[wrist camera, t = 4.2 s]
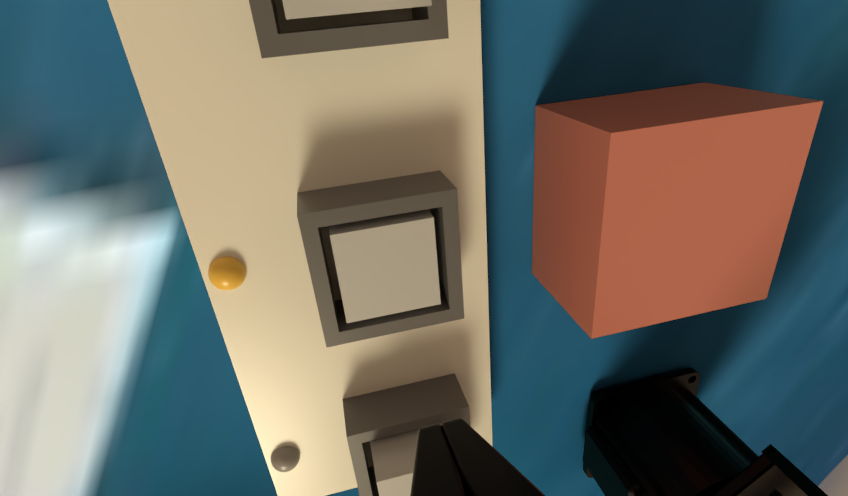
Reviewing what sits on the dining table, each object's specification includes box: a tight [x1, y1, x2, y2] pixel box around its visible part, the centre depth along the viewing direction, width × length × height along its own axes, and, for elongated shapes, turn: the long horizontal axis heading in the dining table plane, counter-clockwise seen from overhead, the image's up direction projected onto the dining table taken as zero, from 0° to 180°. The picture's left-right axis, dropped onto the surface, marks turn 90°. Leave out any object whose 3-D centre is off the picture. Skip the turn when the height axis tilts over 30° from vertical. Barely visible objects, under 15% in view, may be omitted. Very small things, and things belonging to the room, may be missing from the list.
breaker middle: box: [328, 209, 441, 323], centre depth 16 cm, size 3×3×2 cm
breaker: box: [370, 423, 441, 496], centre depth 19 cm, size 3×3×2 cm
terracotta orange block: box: [532, 82, 823, 339], centre depth 18 cm, size 7×7×5 cm
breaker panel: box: [108, 0, 492, 496], centre depth 17 cm, size 10×24×4 cm, turn 5°
